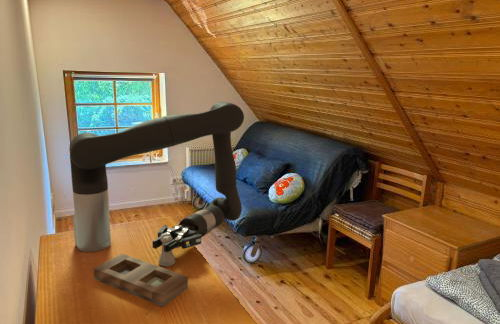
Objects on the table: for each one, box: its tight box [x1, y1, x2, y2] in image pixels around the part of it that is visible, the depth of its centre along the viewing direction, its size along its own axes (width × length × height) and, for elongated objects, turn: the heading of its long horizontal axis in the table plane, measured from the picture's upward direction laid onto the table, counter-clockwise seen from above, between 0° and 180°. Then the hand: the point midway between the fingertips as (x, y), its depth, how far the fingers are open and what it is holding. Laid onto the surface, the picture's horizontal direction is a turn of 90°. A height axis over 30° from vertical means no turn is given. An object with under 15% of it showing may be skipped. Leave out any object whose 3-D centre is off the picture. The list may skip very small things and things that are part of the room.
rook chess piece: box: [158, 234, 176, 268], centre depth 99 cm, size 4×4×8 cm
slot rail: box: [93, 253, 189, 308], centre depth 89 cm, size 22×9×3 cm, turn 62°
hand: (159, 246), depth 96 cm, fingers closed on rook chess piece, 3 cm apart
